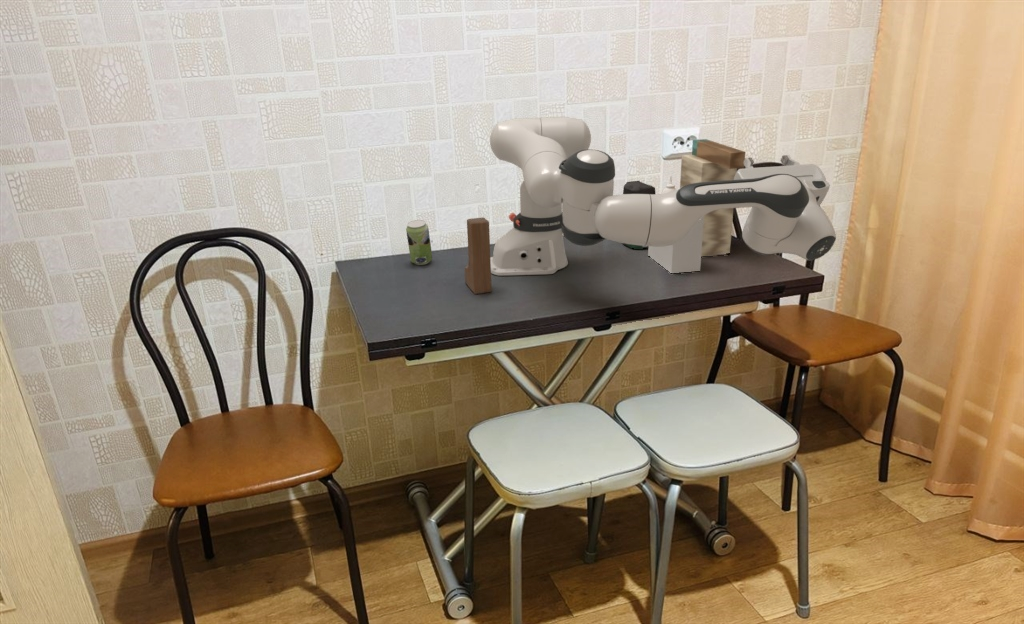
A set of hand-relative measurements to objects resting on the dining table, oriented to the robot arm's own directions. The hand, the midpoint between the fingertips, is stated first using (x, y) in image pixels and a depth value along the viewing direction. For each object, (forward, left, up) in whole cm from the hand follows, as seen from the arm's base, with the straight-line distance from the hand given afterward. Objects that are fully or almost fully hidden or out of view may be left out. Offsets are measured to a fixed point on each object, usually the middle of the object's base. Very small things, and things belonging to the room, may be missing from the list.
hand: (765, 158), depth 175 cm
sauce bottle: (-3, +47, -31) cm, 56 cm away
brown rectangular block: (0, +25, -5) cm, 25 cm away
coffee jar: (-16, +39, -31) cm, 52 cm away
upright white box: (-13, +20, -31) cm, 39 cm away
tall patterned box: (0, +29, -31) cm, 42 cm away
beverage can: (-79, +40, -31) cm, 93 cm away
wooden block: (-67, +16, -31) cm, 75 cm away
